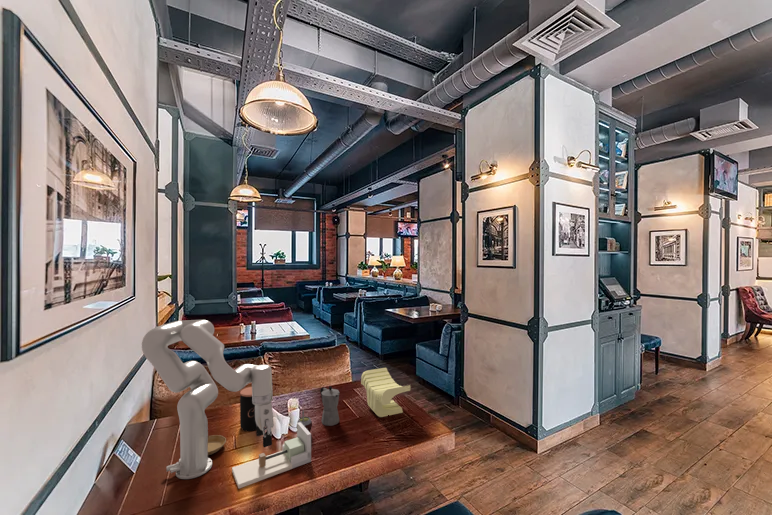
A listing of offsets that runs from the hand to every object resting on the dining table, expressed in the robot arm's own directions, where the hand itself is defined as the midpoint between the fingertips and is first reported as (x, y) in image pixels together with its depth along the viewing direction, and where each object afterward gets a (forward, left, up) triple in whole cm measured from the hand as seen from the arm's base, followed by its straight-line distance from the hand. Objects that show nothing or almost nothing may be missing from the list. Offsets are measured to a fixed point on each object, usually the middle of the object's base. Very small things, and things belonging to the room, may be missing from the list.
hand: (264, 440), depth 133 cm
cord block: (+7, 0, -10) cm, 12 cm away
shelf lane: (+3, 0, -12) cm, 12 cm away
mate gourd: (+22, +14, -12) cm, 29 cm away
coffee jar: (+4, +38, -12) cm, 41 cm away
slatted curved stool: (+68, +15, -12) cm, 71 cm away
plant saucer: (-17, +29, -12) cm, 35 cm away
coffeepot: (+38, +21, -12) cm, 46 cm away
